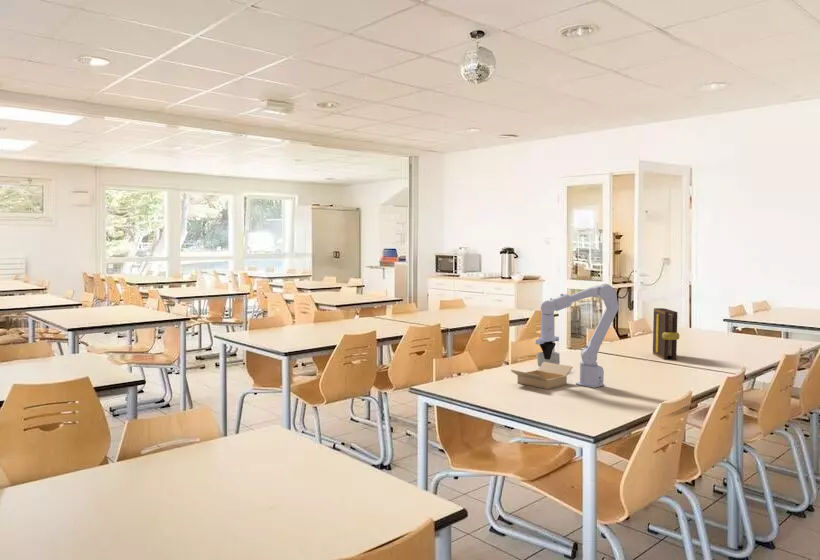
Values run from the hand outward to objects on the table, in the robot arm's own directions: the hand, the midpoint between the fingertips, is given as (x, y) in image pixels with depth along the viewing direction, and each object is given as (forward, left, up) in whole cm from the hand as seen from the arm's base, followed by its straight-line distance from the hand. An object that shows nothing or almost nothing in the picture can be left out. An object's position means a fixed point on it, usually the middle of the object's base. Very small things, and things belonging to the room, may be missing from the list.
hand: (547, 359), depth 275 cm
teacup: (+18, -26, -11) cm, 33 cm away
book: (-4, -98, -11) cm, 99 cm away
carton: (0, +4, -10) cm, 11 cm away
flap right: (0, -5, -5) cm, 7 cm away
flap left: (0, +13, -5) cm, 14 cm away
